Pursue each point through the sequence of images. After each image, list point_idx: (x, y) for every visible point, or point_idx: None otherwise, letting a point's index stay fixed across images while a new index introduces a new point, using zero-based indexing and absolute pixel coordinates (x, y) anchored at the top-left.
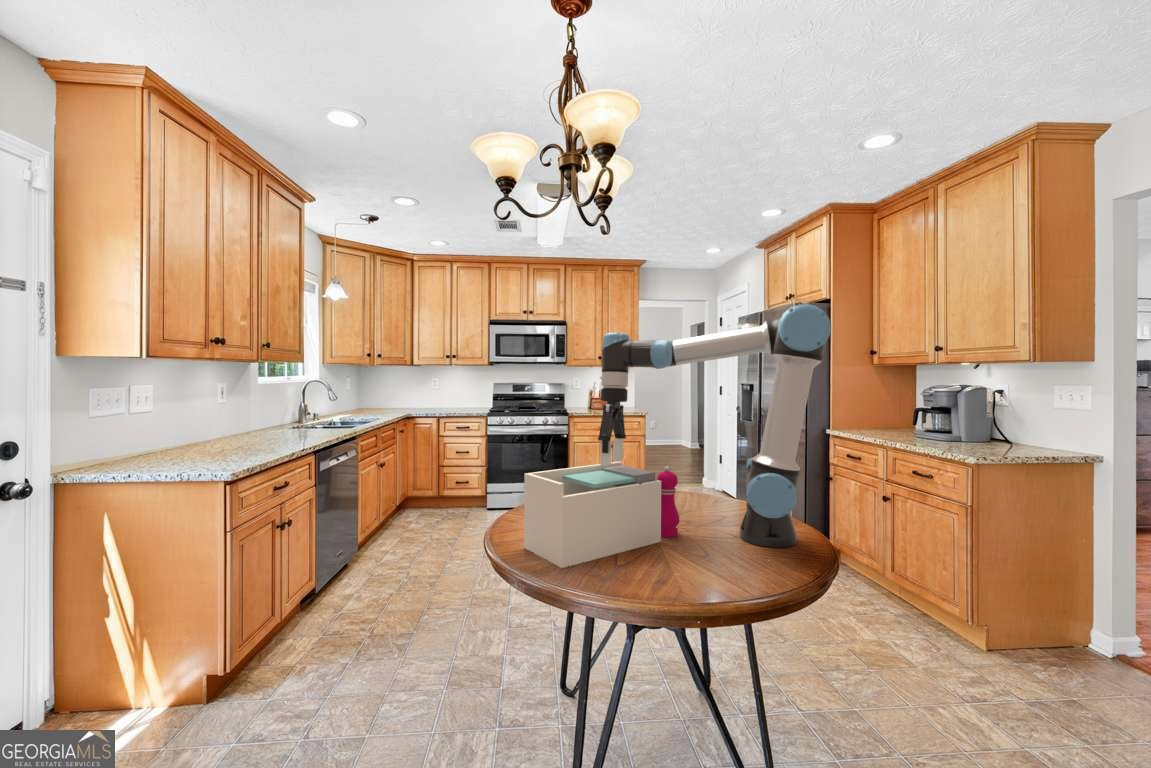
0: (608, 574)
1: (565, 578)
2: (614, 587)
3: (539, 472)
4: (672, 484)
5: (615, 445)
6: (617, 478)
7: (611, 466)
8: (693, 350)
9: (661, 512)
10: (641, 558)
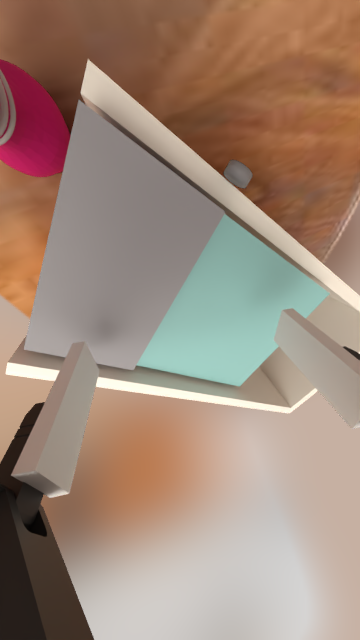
0: (299, 196)
1: (311, 247)
2: (342, 168)
3: (277, 406)
4: None
5: (78, 434)
6: (245, 270)
7: None
8: None
9: (52, 136)
10: (227, 160)
